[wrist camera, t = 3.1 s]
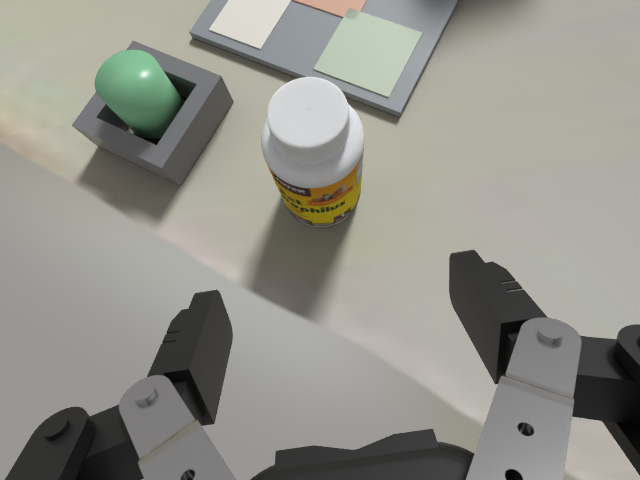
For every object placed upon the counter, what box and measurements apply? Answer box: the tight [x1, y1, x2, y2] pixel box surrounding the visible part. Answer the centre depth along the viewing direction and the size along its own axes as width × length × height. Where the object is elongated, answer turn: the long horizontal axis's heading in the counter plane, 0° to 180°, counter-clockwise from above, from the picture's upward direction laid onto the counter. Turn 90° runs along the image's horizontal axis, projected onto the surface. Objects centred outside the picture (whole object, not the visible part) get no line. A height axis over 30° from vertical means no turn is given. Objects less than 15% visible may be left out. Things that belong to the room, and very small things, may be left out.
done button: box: [95, 50, 184, 139], centre depth 27 cm, size 4×4×4 cm
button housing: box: [72, 41, 233, 186], centre depth 29 cm, size 8×8×3 cm
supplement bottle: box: [261, 77, 364, 227], centre depth 23 cm, size 6×6×10 cm
